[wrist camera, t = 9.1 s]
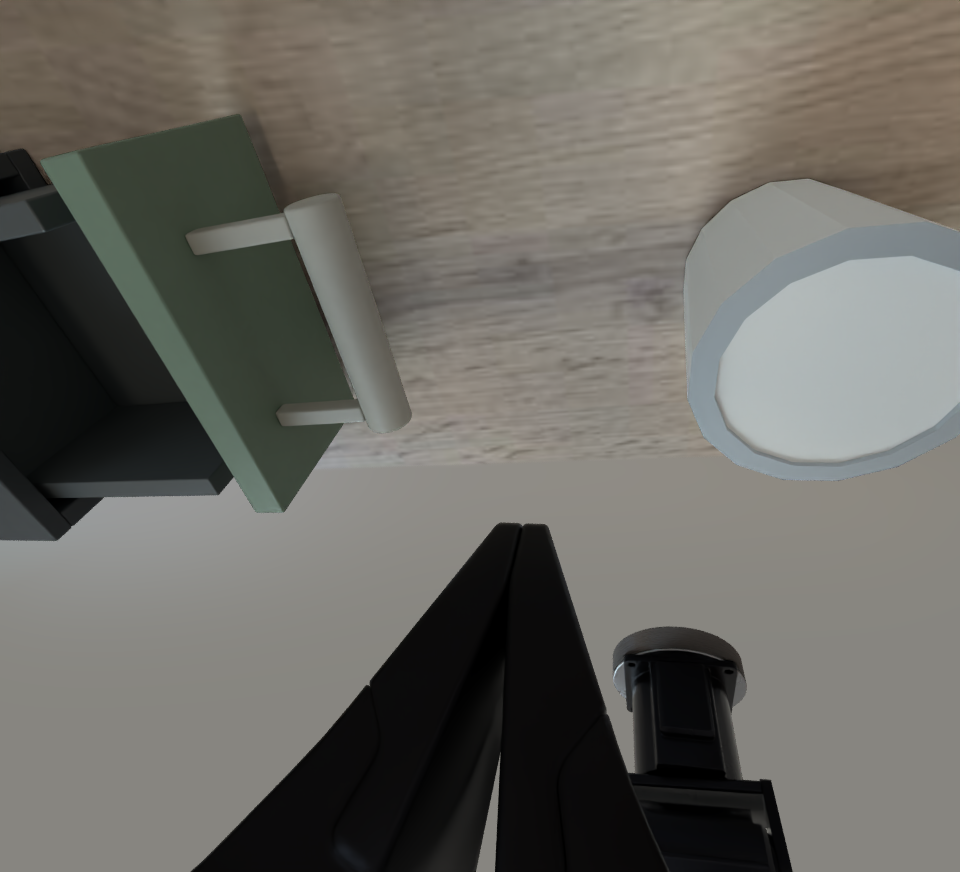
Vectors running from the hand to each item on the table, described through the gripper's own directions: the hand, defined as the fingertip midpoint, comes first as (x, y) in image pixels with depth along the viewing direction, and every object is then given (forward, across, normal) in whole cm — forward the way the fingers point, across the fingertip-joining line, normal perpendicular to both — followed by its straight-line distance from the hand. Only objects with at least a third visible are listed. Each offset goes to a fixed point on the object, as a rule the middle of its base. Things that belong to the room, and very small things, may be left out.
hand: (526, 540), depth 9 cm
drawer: (+12, +14, 0) cm, 18 cm away
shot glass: (+13, -7, 0) cm, 15 cm away
